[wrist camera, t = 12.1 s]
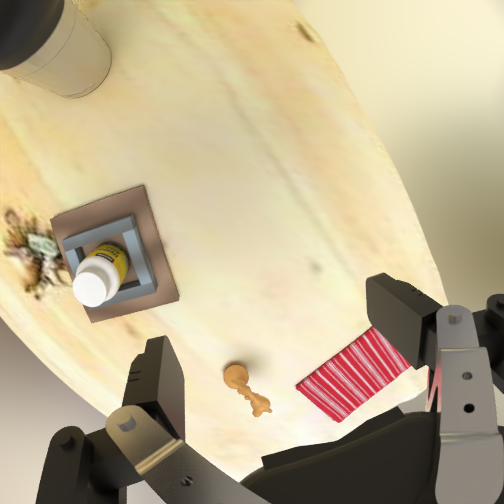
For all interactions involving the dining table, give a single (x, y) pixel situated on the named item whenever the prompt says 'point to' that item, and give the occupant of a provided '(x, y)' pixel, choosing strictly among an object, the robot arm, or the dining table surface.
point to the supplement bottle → (101, 274)
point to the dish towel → (353, 375)
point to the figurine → (246, 389)
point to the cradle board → (131, 239)
